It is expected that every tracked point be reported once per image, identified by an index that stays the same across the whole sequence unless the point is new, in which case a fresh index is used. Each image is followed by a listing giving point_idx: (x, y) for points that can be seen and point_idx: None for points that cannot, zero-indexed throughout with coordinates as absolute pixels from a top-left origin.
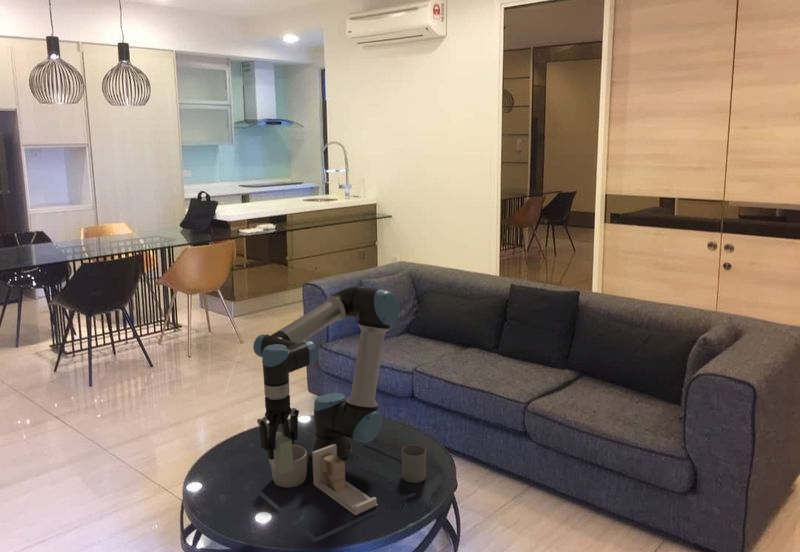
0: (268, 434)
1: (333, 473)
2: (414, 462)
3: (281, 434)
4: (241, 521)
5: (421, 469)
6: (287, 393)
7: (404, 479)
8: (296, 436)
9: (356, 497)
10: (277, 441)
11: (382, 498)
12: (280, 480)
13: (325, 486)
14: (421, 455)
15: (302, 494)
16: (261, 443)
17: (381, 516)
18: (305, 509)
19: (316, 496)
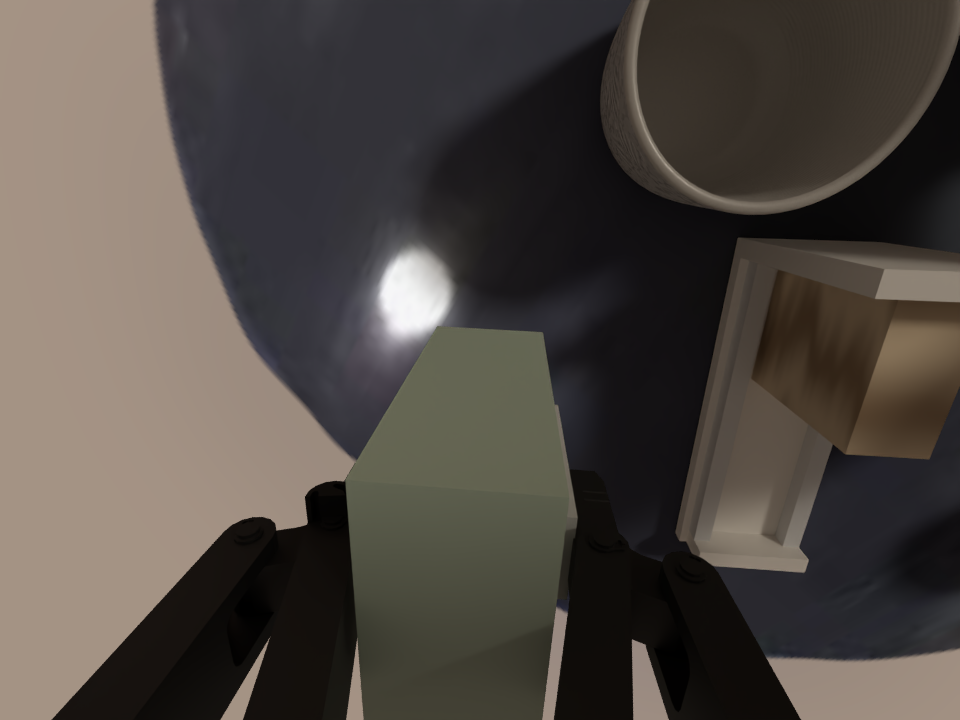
0: (260, 670)
1: (812, 410)
2: None
3: (530, 605)
4: (325, 259)
5: None
6: None
7: None
8: (688, 672)
9: (782, 462)
10: (373, 702)
11: (854, 511)
12: (609, 143)
13: (753, 328)
14: None
15: (651, 257)
16: (194, 572)
17: (746, 580)
18: (579, 367)
19: (683, 317)
